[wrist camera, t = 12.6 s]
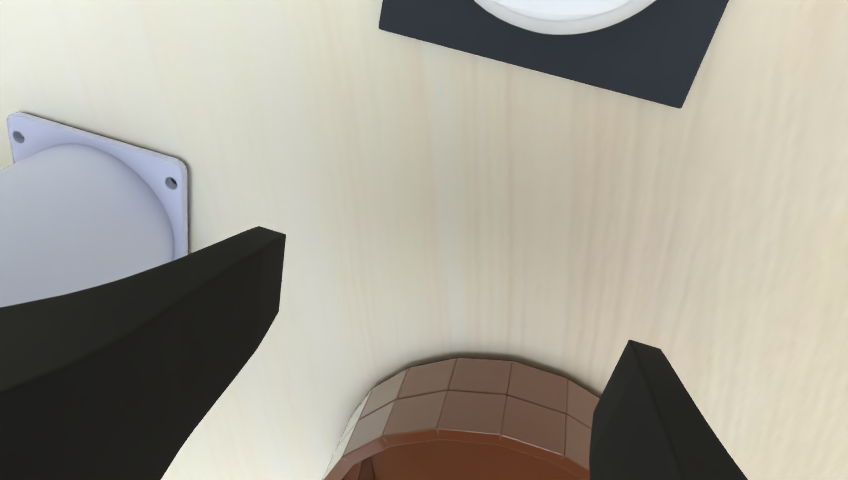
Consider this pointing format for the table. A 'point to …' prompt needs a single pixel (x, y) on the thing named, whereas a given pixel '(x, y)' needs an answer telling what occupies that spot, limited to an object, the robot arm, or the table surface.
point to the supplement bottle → (563, 13)
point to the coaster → (577, 43)
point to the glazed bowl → (468, 425)
